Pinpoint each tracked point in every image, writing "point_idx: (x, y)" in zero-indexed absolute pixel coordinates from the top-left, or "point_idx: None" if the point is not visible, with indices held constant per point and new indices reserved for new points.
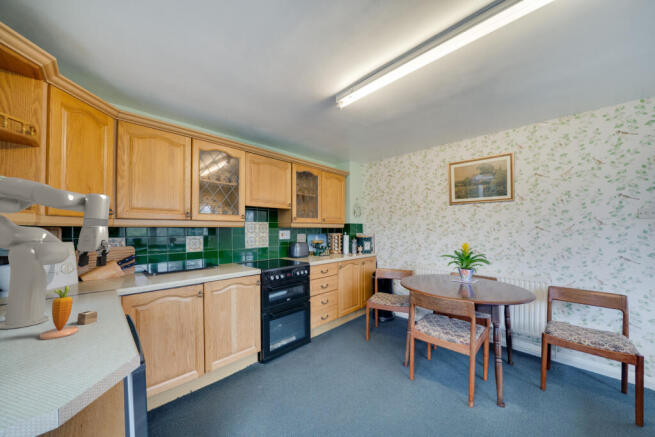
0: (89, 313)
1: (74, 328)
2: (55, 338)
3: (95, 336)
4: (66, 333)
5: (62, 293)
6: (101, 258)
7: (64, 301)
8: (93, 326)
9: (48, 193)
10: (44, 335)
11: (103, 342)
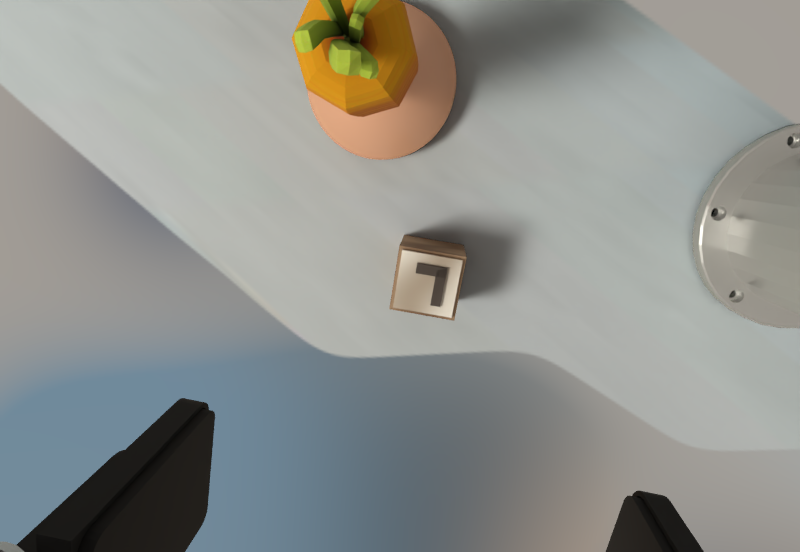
0: (398, 267)
1: (339, 124)
2: None
3: (165, 78)
4: None
5: (350, 27)
6: (35, 527)
7: (301, 16)
8: (329, 215)
9: None
10: None
11: (44, 8)
